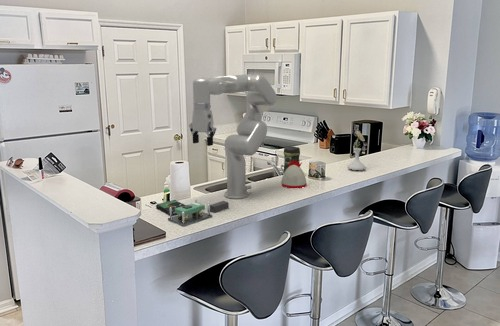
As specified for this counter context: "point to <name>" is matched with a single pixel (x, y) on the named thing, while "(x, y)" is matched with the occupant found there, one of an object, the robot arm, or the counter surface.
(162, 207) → the disk drive
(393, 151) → the counter surface
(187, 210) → the board
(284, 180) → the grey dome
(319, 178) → the counter surface
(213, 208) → the block
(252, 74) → the robot arm
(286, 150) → the coffee jar
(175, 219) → the chassis
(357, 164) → the flower in vase
